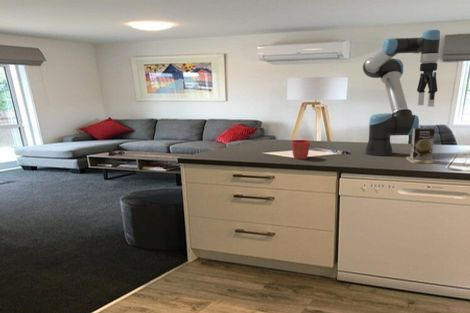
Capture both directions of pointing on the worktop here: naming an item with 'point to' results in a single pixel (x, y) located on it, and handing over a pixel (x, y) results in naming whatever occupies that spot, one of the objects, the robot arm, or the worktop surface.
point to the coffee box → (422, 143)
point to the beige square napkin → (420, 160)
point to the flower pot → (300, 148)
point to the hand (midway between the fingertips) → (425, 105)
